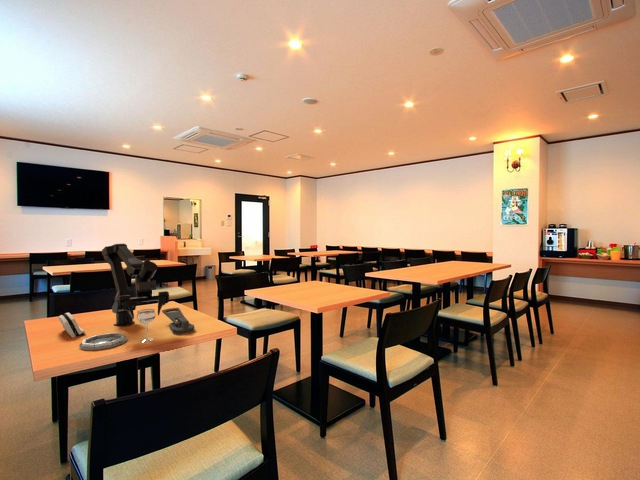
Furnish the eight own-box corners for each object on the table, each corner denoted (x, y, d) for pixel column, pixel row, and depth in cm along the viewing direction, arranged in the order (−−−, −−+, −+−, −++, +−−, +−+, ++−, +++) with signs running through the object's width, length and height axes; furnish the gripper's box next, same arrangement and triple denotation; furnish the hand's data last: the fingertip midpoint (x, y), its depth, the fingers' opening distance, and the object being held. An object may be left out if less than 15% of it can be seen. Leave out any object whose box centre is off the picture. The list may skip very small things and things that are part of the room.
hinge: (86, 334, 148) (76, 314, 145) (74, 341, 145) (63, 320, 142) (77, 327, 160) (68, 308, 157) (66, 332, 157) (56, 313, 154)
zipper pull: (179, 306, 170) (196, 316, 150) (180, 320, 170) (196, 331, 150) (160, 309, 164) (175, 320, 145) (160, 323, 165) (175, 336, 145)
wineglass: (138, 338, 142) (137, 309, 141) (157, 336, 144) (156, 308, 144) (136, 343, 135) (135, 313, 135) (155, 341, 138) (154, 311, 137)
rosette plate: (68, 348, 130) (68, 343, 130) (104, 335, 146) (104, 331, 146) (103, 352, 126) (103, 346, 126) (136, 338, 142) (136, 333, 142)
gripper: (118, 276, 140) (119, 308, 131) (167, 272, 150) (172, 302, 141) (118, 292, 147) (119, 324, 138) (165, 288, 157) (170, 317, 148)
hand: (146, 316), depth 141 cm, fingers open, 9 cm apart
